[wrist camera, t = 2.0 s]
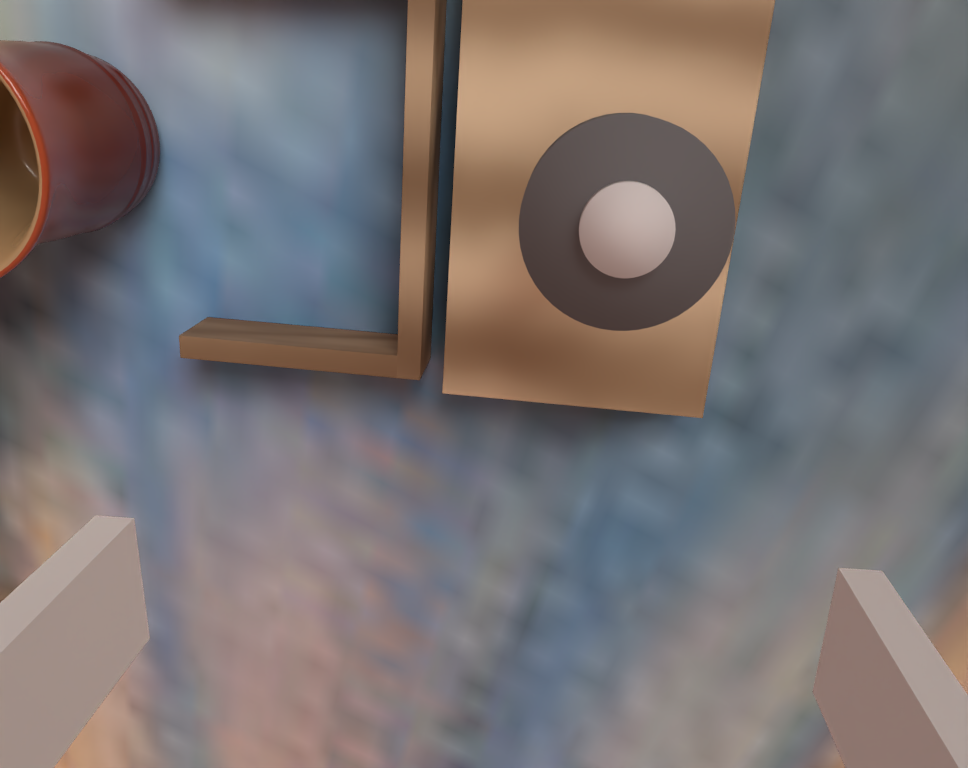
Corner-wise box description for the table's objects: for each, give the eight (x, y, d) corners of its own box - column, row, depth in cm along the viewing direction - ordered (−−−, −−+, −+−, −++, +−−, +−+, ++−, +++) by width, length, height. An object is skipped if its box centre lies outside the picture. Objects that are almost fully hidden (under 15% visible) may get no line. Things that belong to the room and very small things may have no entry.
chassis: (185, -88, 32) (99, -127, 26) (766, -53, 30) (815, -87, 25) (209, 347, 38) (144, 395, 32) (691, 392, 37) (716, 450, 31)
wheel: (531, 105, 24) (527, 108, 21) (734, 120, 24) (758, 124, 21) (515, 300, 26) (509, 327, 23) (702, 317, 26) (719, 345, 23)
